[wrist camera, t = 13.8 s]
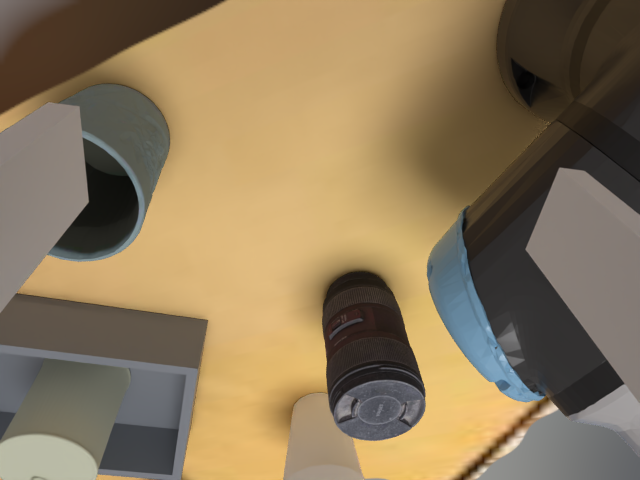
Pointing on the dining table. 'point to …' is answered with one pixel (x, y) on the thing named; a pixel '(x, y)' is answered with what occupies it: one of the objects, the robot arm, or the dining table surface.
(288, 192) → the dining table surface
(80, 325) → the box
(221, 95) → the dining table surface
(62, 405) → the can
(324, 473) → the foam cup
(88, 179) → the blue-grey textured cup
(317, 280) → the dining table surface
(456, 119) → the dining table surface
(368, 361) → the camera lens
